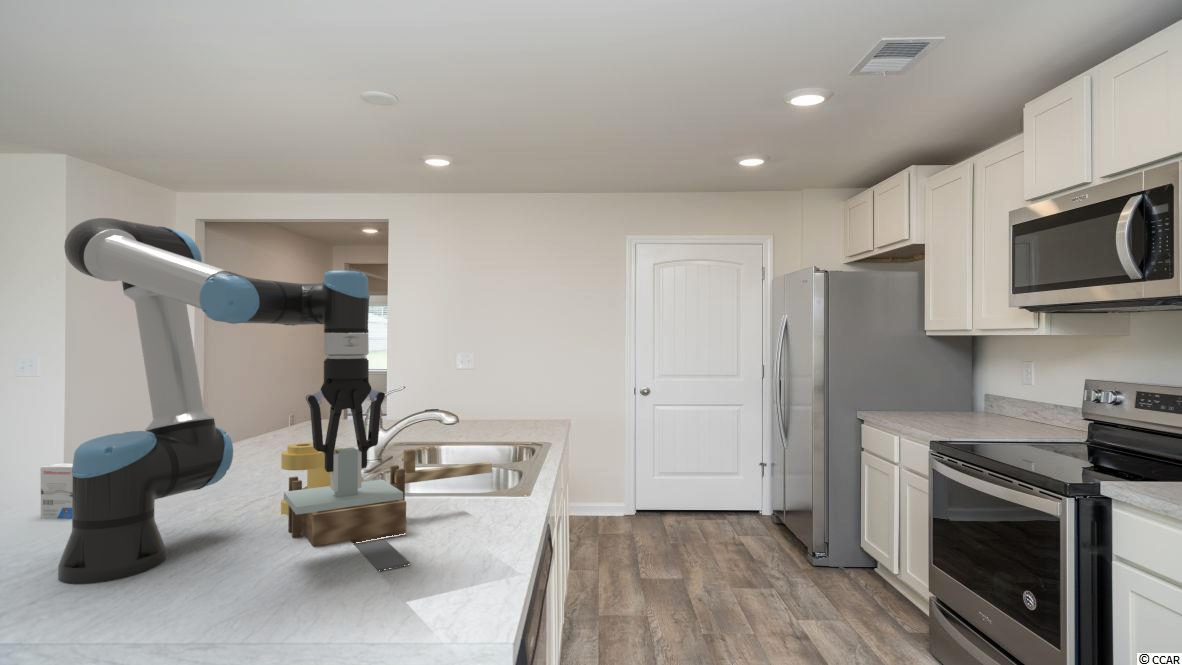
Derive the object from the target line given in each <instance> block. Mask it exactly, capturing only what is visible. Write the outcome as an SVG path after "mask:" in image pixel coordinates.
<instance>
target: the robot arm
mask: <svg viewBox="0 0 1182 665" xmlns="http://www.w3.org/2000/svg"><path fill="white" fill-rule="evenodd" d="M63 247H64V253H65V257H66V259H67V260H68V262H69V263H70V265H72V267H73V268H74V269H75V270H77V271H79V272H80V273H82V274H84V275H86V276H89V277H91V278H95V279H98V280H101V281H104V282H117V281H120V282H121V285H122V289H123V294H124V296H125V297H127V298H129V299H130V300H132V301H133V302H134V305H135V311H136V312H135V313H136V318H137V320H136V321H137V325H138V330H139V337H140V344H141V350H142V357H143V363H144V370H145V376H146V382H147V389H148V390H147V391H148V394H149V400H150V402H149V403H150V407H151V413H152V419H151V420H152V421H151V422H150V423H149V425H148V426H147V427H146V428H145V429H144V430H135V431H125V432H122V433H119V432H117V433H112V434H107V435H103V436H99V437H95V438H92V439H89V440H87V441H85V442H82V443H81V444H80V445H78V447H77V448H76V449H75V451H74V452H73V461H72V464H73V467H72V470H71V473H72V476H73V497H72V520H71V522H72V523H71V532H70V535H69V536H68V540H67V543H66V545H65V548H64V550H63V553H62V555H61V558H60V560H59V562H58V566H57V568H58V570H57V573H58V574H57V579H58V580H59V582H62V583H64V584H65V583H66V584H71V585H89V584H90V585H92V584H100V583H107V582H112V581H118V580H121V579H126V578H129V577H132V576H133V577H134V576H137V575H140V574H142V573H145V572H148V571H149V570H153V569H154V568H157V567H158V566H160V565H161V564H163V563H164V562H165V560H166V546H165V543H164V540H163V538H162V535H161V533H160V530H159V528H158V525H157V522H156V519H155V504H156V503H155V500H158V499H163V498H166V497H167V498H168V497H171V496H174V495H175V496H176V495H178V494H183V493H187V492H191V491H197V490H202V489H205V487H208V486H209V487H210V486H211V485H212V486H213V485H214V484H216V483H218V482H219V481H221V480H222V479H223V478H224V477H225V476H226V475H227V472H228V470H230V468H231V465H232V463H233V458H234V445H233V441H232V439H231V437H230V435H229V434H227V432H226V431H225V430H224V429H223V428H220V427H216V423H215V422H216V421H215V417H214V416H212V415H210V414H209V413H208V412H206V411H205V408H204V402H203V397H202V396H203V395H202V390H201V385H200V384H201V383H200V380H199V372H198V366H197V361H196V354H195V347H194V342H193V335H192V329H191V323H190V322H191V321H190V317H189V312H188V311H189V310H188V305H189V306H191V307H195V308H197V309H201V311H203V313H204V314H205V315H206V317H207V318H209V319H211V320H212V321H215V322H218V323H219V322H222V323H228V324H232V325H235V324H271V325H284V326H292V327H293V326H298V325H308V326H309V325H323V332H324V333H323V355H324V356H327V357H326V358H325V359H324V360H323V382H322V383H323V384H322V386H321V387H320V390H319V391H317V392H315V393H313V394H307V395H306V396H305V400H306V402H307V405H308V406H309V407H308V408H310V420H311V434H312V443H313V447H314V449H316V450H317V451H320V452H324V454H325V470H326V471H327V472H331V489H332V490H333V491H338V460H339V454H338V453H336V452H334V449H335V447H336V442H337V438H338V430H339V425H340V419H341V415H342V412H343V410H346V409H348V410H349V409H350V412H351V414H352V422H353V426H354V433H355V440H356V446H357V448H358V449H357V450H358V488H361V476H362V469H366V468H367V467H368V451H369V449H370V448H373V447H376V446H377V445H378V443H379V435H380V423H381V410H382V404H383V402H384V400H385V398H386V393H384V392H383V391H379V390H375V389H374V388H372V386H371V383H370V382H369V376H370V375H369V367H370V366H369V365H370V364H369V363H370V362H369V361H370V360H368V358H366V356H368V354H369V313H370V312H369V311H370V309H369V307H370V297H371V295H370V291H369V288H370V287H369V278H368V276H367V274H365V273H364V272H362V271H354V270H340V269H339V270H329V271H326V272H325V273H324V275H323V276H324V277H323V281H322V282H321V283H298V282H297V283H296V282H288V281H279V280H278V281H277V280H270V279H269V280H268V279H259V278H254V277H253V278H252V277H249V276H246V275H245V276H244V275H242V274H239V273H236V272H232V271H230V270H229V271H228V270H227V269H223V268H220V267H217V266H214V265H211V264H208V263H205V262H203V259H202V254H201V251H200V249H199V246H198V245H197V243H196V242H195V241H194V239H193V238H192V237H190V236H189V235H187V234H186V233H184V232H182V231H180V230H176V229H171V228H170V227H166V226H156V225H150V224H144V223H138V222H132V221H127V220H122V219H117V218H109V217H98V218H90V219H87V220H85V221H82V222H80V223H78V224H76V225H75V226H74V227H72V229H70V231H69V232H68V234H67V235H66V238H65V240H64V246H63ZM368 397H369V401H370V409H369V421H368V432H367V433H366V427H365V421H364V415H363V411H364V410H363V406H362V405H363V403H364V402H365V401H366V399H367V398H368ZM322 398H324V399H325V400H326V402H327V403H328V404H329V405H330V409H329V410H330V411H329V418H328V425H327V430H326V437H325V441H324V436H323V427H322V426H323V424H322V414H321V413H322V412H321V407H320V405H321V404H322V402H323V401H322V400H323V399H322Z"/></svg>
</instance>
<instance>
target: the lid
mask: <svg viewBox="0 0 1182 665" xmlns="http://www.w3.org/2000/svg"><path fill="white" fill-rule="evenodd" d="M342 448H343V449H335V452H336V453H338V454H339V460H338V491H333V490H332V489H331V486H326V487H318V488H310V489H307V488H302V490H294V491H289V490H287V491H283V499H285V501H286V502H287V503H288V505H289V506H290V507H291V509H292V510H293V511H294V512H295V514H296V515H297V514H304V513H311V512H318V511H325V510H332V509H338V508H345V507H352V506H359V505H366V504H373V503H380V502H386V501H393V500H400V499H403V492H402V491H400V490H399V489H397V488H395V487H394V486H392V485H391V484H390V482H388V481H386V480H384V479H375V480H368V481H367V480H365V482H361V488H358V450H357V449H356V448H355V447H345V448H344V447H342Z"/></svg>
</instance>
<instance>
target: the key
mask: <svg viewBox="0 0 1182 665" xmlns="http://www.w3.org/2000/svg"><path fill="white" fill-rule="evenodd" d="M403 469H405V484H412V483H420V482H428V481H429V482H430V481H436V480H444V479H451V478H459V477H460V478H461V477H466V476H474V475H483V474H484V475H485V474H490V473H491V474H492V473H493V463H492V462H489V461H483V462H476V463H468V464H467V463H466V464H459V465H458V464H457V465H449V466H442V467H432V468H426V469H416V450H415V449H413V448H409V449H403ZM395 483H396V473H395Z"/></svg>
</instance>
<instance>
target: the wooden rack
mask: <svg viewBox="0 0 1182 665" xmlns="http://www.w3.org/2000/svg"><path fill="white" fill-rule="evenodd" d="M389 469H390V470H389V474H390V475H389V480H390V481H389V484H391V485H392V486H394V487H395V488H397V489H399V490H400V491H402V492H403V499H400V500H393V501H386V502H380V503H373V504H366V505H359V506H352V507H345V508H338V509H332V510H325V511H318V512H311V513H304V514H297V515H296V514H295V512H294V511H293V510H292V509H291V507H290V506H289V515H288V519H287V520H288V525H287V527H288V528H287V530H288V533H291V538H292V539H295V538H302V534H303V536H305V538H306V539H307V541H308V542H309V543H310V545H311V546H312V548H317V547H320V546H321V547H322V546H326V545H331V544H337V543H343V542H347V541H350V542H351V544H353V543H356V542H362V541H366V540H371V539H377V538H381V537H386V536H392V535H393V536H394V535H399V534H404V533H406V534H407V501H406V498H405V497H406V496H405V495H406V492H405V490H406V483H405V469H404V468H400V465H398V464H396V465H390V467H389ZM395 473H396V483H395ZM302 489H303V481H302V480H301V479H300V480H299V476H298V475H297V476H290V477H288V491H294V490H302Z"/></svg>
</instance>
